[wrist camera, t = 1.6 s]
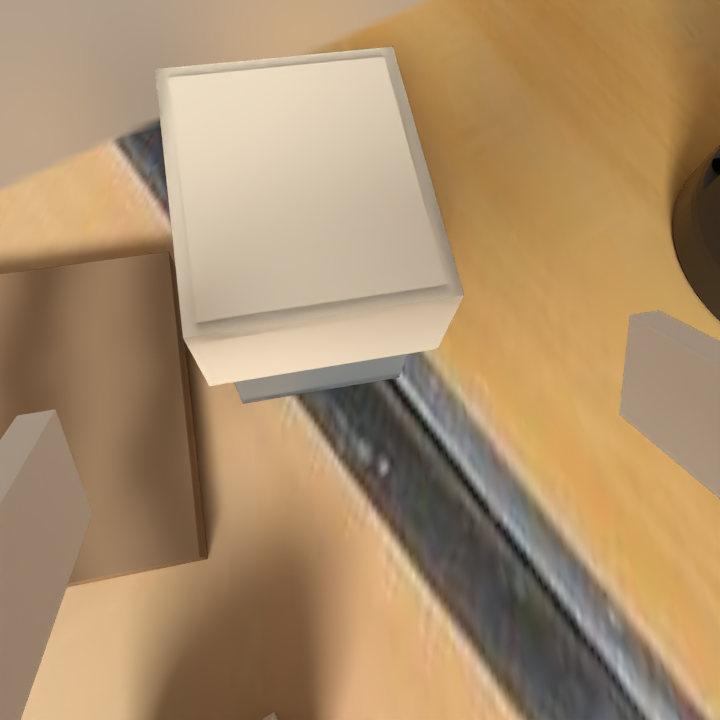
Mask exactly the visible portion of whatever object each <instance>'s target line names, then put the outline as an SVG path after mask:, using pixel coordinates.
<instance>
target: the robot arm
mask: <svg viewBox="0 0 720 720" xmlns="http://www.w3.org/2000/svg"><path fill="white" fill-rule="evenodd" d="M673 233H674V241H675V246H676V251H677V254H678V257H679V261H680V263H681V266H682V268H683V270H684V273H685V275H686V277H687V279H688V280H689V282H690V284H691V286H692V287H693V289H694V290H695V292H696V293H697V295H698V296H699V298H700V299H701V300H702V302H703V303H704V304H705V305H706V307H707V308H708V309H709V310H710V311H711V312H712V313H713V314H714V315H715V316H716V318H717V319H719V320H720V146H718V147H717V148H716V149H715V150H714V151H713V152H712V153H711V154H710V155H709V156H708V157H707V158H706V159H705V160H704V162H703V163H702V164H701V165H700V166H699V167H698V168H697V169H696V170H695V171H694V173H693V174H692V175H691V176H690V177H689V178H688V180H687V181H686V183H685V184H684V186H683V188H682V189H681V191H680V194H679V196H678V199H677V202H676V205H675V210H674V217H673ZM619 415H620V416H621V417H622V418H624V419H625V420H626V421H627V422H628V423H630V424H631V425H632V426H633V427H634V428H636V429H637V430H638V431H639V432H640V433H642V434H643V435H644V436H645V437H646V438H648V439H649V440H650V441H651V442H652V443H653V444H655V445H656V446H657V447H658V448H659V449H661V450H662V451H663V452H664V453H665V454H667V455H668V456H669V457H670V458H671V459H673V460H674V461H675V462H676V463H677V464H679V465H680V466H681V467H682V468H683V469H685V470H686V471H687V472H688V473H689V474H691V475H692V476H693V477H694V478H695V479H697V480H698V481H699V482H700V483H701V484H702V485H704V486H705V487H706V488H707V489H708V490H710V491H711V492H712V493H713V494H714V495H716V496H717V497H718V498H719V499H720V341H718V340H716V339H714V338H712V337H710V336H708V335H706V334H705V333H703V332H701V331H699V330H697V329H695V328H693V327H691V326H689V325H687V324H685V323H683V322H681V321H679V320H677V319H675V318H673V317H671V316H669V315H667V314H665V313H663V312H661V311H659V310H658V311H652V312H646V313H640V314H634V315H630V318H629V328H628V337H627V347H626V356H625V366H624V375H623V385H622V394H621V404H620V413H619ZM91 516H92V511H91V508H90V506H89V503H88V500H87V497H86V494H85V491H84V489H83V486H82V483H81V480H80V477H79V474H78V472H77V469H76V466H75V463H74V460H73V458H72V455H71V452H70V449H69V446H68V443H67V441H66V438H65V435H64V432H63V429H62V426H61V424H60V421H59V418H58V415H57V412H56V410H55V409H54V410H48V411H42V412H36V413H30V414H24V415H17V416H16V418H15V419H14V421H13V422H12V424H11V425H10V426H9V428H8V429H7V431H6V432H5V434H4V435H3V437H2V438H1V440H0V720H21V717H22V714H23V711H24V708H25V706H26V703H27V700H28V697H29V694H30V691H31V688H32V685H33V683H34V680H35V677H36V674H37V671H38V668H39V665H40V662H41V660H42V657H43V654H44V651H45V648H46V645H47V642H48V639H49V637H50V634H51V631H52V628H53V625H54V622H55V619H56V616H57V614H58V611H59V608H60V605H61V602H62V599H63V596H64V593H65V591H66V588H67V585H68V582H69V579H70V576H71V573H72V570H73V568H74V565H75V562H76V559H77V556H78V553H79V550H80V548H81V545H82V542H83V539H84V536H85V533H86V530H87V527H88V525H89V522H90V519H91Z"/></svg>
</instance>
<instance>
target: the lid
mask: <svg viewBox="0 0 720 720" xmlns="http://www.w3.org/2000/svg"><path fill="white" fill-rule="evenodd" d="M155 74H156V84H157V92H158V103H159V112H160V122H161V132H162V141H163V151H164V160H165V170H166V180H167V189H168V199H169V208H170V218H171V227H172V237H173V247H174V256H175V266H176V275H177V285H178V295H179V304H180V314H181V323H182V333H183V339H184V341H185V343H186V344H187V346H188V348H189V350H190V352H191V354H192V355H193V357H194V359H195V361H196V363H197V364H198V366H199V368H200V370H201V372H202V374H203V375H204V377H205V379H206V381H207V383H208V384H209V386H213V385H219V384H225V383H231V382H237V381H244V380H250V379H256V378H262V377H268V376H274V375H280V374H286V373H292V372H298V371H304V370H311V369H317V368H323V367H329V366H335V365H341V364H347V363H353V362H359V361H365V360H372V359H378V358H384V357H390V356H396V355H402V354H408V353H414V352H420V351H426V350H432V349H438V347H439V345H440V343H441V341H442V339H443V337H444V335H445V333H446V331H447V329H448V327H449V325H450V323H451V321H452V319H453V317H454V315H455V313H456V311H457V309H458V306H459V304H460V302H461V300H462V298H463V296H464V293H463V289H462V286H461V282H460V279H459V275H458V272H457V268H456V265H455V261H454V258H453V254H452V251H451V247H450V244H449V240H448V237H447V233H446V230H445V226H444V223H443V219H442V216H441V212H440V209H439V206H438V202H437V199H436V195H435V192H434V188H433V185H432V181H431V178H430V174H429V171H428V167H427V164H426V160H425V157H424V153H423V150H422V146H421V143H420V139H419V136H418V132H417V129H416V125H415V122H414V118H413V115H412V111H411V108H410V105H409V101H408V98H407V94H406V91H405V87H404V84H403V80H402V77H401V73H400V70H399V66H398V63H397V59H396V56H395V52H394V49H393V47H383V48H372V49H362V50H351V51H341V52H331V53H320V54H310V55H299V56H289V57H278V58H268V59H258V60H248V61H236V62H226V63H215V64H206V65H194V66H184V67H174V68H163V69H155Z"/></svg>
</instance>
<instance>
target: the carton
mask: <svg viewBox="0 0 720 720" xmlns="http://www.w3.org/2000/svg"><path fill="white" fill-rule="evenodd" d="M406 357H407V354H402V355H396V356H390V357H384V358H378V359H372V360H365V361H359V362H353V363H347V364H341V365H335V366H329V367H323V368H317V369H311V370H304V371H298V372H292V373H286V374H280V375H274V376H268V377H262V378H256V379H250V380H244V381H237V382H234V383H235V385H236V388H237V390H238V392H239V395H240V397H241V400H242V402H243V404H244V403H250V402H256V401H262V400H268V399H274V398H280V397H285V396H291V395H297V394H303V393H309V392H315V391H321V390H327V389H333V388H339V387H345V386H351V385H356V384H362V383H368V382H374V381H380V380H386V379H392V378H398V377H399V375H400V373H401V370H402V368H403V365H404V362H405V360H406Z"/></svg>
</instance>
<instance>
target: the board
mask: <svg viewBox="0 0 720 720" xmlns="http://www.w3.org/2000/svg"><path fill="white" fill-rule="evenodd" d="M54 409H55V410H56V412H57V415H58V418H59V421H60V424H61V426H62V429H63V432H64V435H65V438H66V441H67V443H68V446H69V449H70V452H71V455H72V458H73V460H74V463H75V466H76V469H77V472H78V474H79V477H80V480H81V483H82V486H83V489H84V491H85V494H86V497H87V500H88V503H89V506H90V508H91V511H92V516H91V519H90V522H89V525H88V527H87V530H86V533H85V536H84V539H83V542H82V545H81V548H80V550H79V553H78V556H77V559H76V562H75V565H74V568H73V570H72V573H71V576H70V579H69V582H68V585H67V587H70V586H75V585H80V584H85V583H90V582H95V581H100V580H105V579H110V578H115V577H120V576H125V575H130V574H135V573H140V572H145V571H150V570H155V569H160V568H165V567H170V566H175V565H180V564H185V563H190V562H195V561H200V560H205V559H208V557H207V547H206V537H205V528H204V518H203V509H202V499H201V490H200V480H199V471H198V461H197V452H196V442H195V433H194V423H193V414H192V404H191V395H190V385H189V376H188V366H187V357H186V347H185V341H184V339H183V333H182V323H181V314H180V304H179V295H178V285H177V275H176V267H175V264H174V262H173V260H172V258H171V256H170V253H169V252H162V253H155V254H147V255H140V256H132V257H125V258H118V259H110V260H103V261H95V262H88V263H80V264H73V265H65V266H58V267H51V268H43V269H36V270H28V271H21V272H13V273H6V274H0V440H1V438H2V437H3V435H4V434H5V432H6V431H7V429H8V428H9V426H10V425H11V424H12V422H13V421H14V419H15V418H16V416H17V415H24V414H30V413H36V412H42V411H48V410H54Z"/></svg>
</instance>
